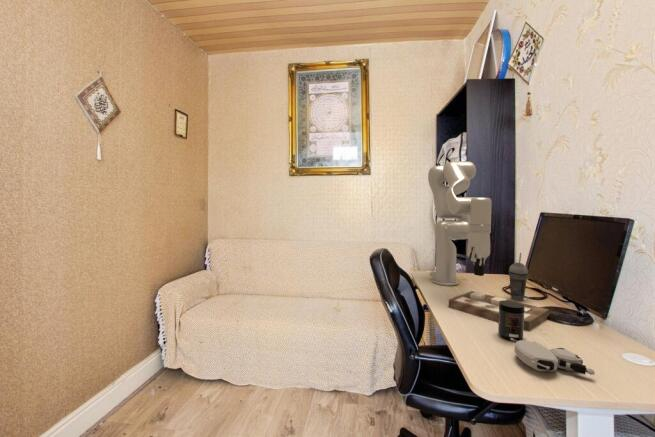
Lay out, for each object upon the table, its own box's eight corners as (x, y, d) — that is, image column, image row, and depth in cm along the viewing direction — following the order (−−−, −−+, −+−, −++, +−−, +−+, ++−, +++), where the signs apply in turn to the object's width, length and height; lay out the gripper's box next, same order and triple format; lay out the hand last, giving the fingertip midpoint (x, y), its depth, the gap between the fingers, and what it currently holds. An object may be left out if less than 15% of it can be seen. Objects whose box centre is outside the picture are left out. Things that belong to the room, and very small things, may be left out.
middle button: (490, 305, 116) (491, 299, 116) (495, 303, 119) (495, 296, 119) (501, 308, 113) (502, 301, 113) (506, 306, 116) (506, 299, 116)
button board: (448, 307, 121) (448, 298, 120) (471, 297, 132) (471, 290, 131) (529, 331, 98) (529, 321, 98) (548, 317, 109) (548, 308, 109)
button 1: (470, 300, 123) (470, 293, 123) (475, 298, 125) (475, 291, 125) (480, 302, 120) (480, 296, 119) (485, 300, 122) (485, 294, 122)
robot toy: (566, 359, 83) (506, 351, 86) (568, 343, 83) (508, 335, 85) (597, 387, 71) (527, 376, 73) (600, 368, 71) (529, 358, 73)
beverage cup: (521, 297, 133) (523, 251, 131) (531, 302, 125) (533, 254, 124) (504, 296, 133) (505, 250, 132) (512, 302, 126) (514, 253, 125)
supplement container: (517, 332, 97) (518, 300, 97) (527, 342, 91) (529, 308, 90) (494, 331, 98) (495, 299, 98) (503, 341, 92) (504, 307, 91)
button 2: (513, 314, 110) (513, 308, 110) (518, 312, 113) (518, 305, 112) (526, 318, 107) (526, 311, 107) (530, 315, 110) (530, 308, 109)
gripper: (479, 227, 128) (478, 270, 129) (460, 229, 119) (459, 276, 120) (498, 228, 122) (497, 274, 123) (480, 230, 113) (479, 280, 114)
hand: (478, 275), depth 121 cm, fingers closed
